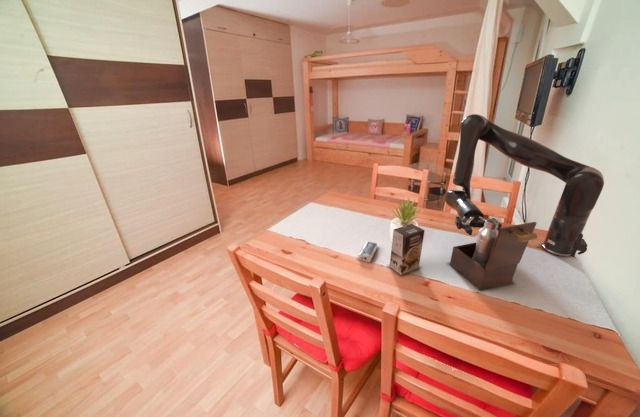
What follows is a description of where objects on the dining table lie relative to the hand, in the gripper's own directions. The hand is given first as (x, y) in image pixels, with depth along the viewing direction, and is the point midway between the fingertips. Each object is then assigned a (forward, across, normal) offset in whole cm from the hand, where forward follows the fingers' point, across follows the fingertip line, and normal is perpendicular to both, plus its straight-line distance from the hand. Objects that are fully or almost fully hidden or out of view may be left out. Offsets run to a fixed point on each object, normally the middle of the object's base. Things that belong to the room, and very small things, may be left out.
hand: (484, 233), depth 90 cm
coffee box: (+4, -26, +14) cm, 30 cm away
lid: (+10, +3, -2) cm, 11 cm away
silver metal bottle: (+3, 0, +14) cm, 14 cm away
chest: (+3, 0, +14) cm, 15 cm away
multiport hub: (-4, -39, +14) cm, 42 cm away
